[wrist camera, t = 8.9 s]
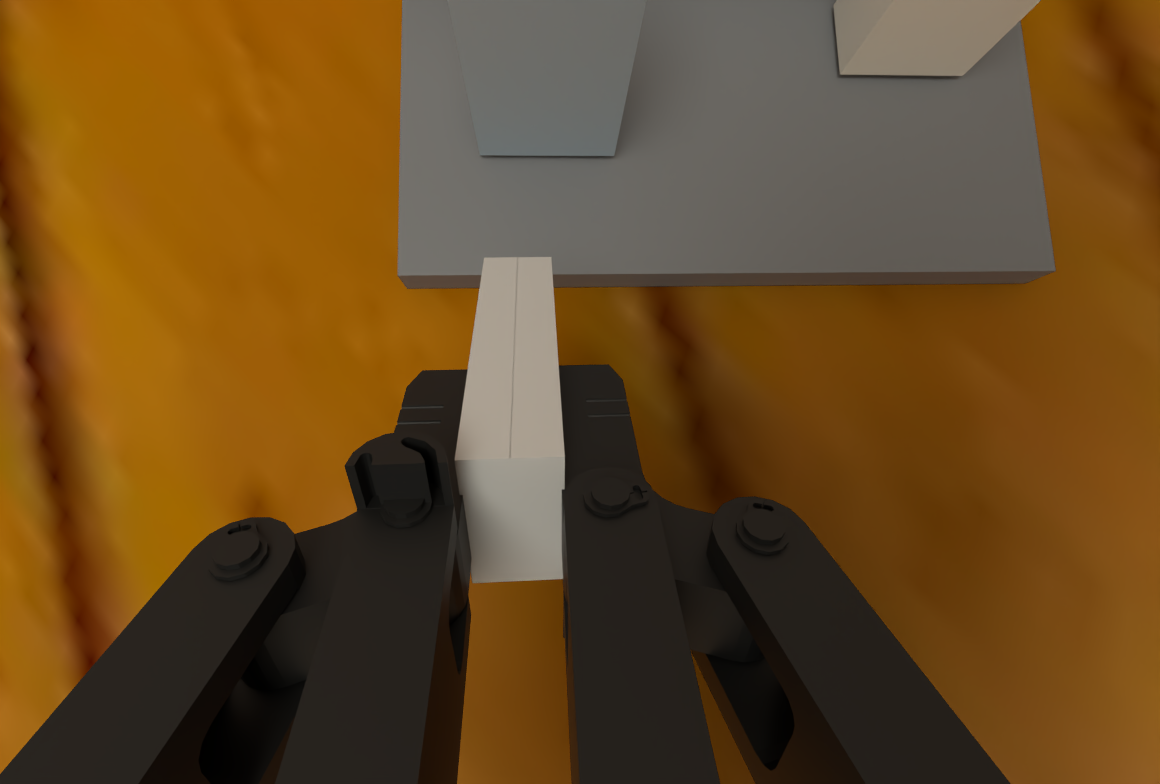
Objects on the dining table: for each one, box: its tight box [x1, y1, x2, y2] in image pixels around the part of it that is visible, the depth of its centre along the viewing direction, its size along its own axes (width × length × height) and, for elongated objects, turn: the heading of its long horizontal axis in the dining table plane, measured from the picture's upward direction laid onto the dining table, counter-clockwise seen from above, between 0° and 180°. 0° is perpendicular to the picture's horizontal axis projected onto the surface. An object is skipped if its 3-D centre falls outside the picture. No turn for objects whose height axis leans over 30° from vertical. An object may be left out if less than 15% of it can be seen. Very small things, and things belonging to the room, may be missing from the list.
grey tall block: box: [448, 0, 647, 156], centre depth 17 cm, size 5×3×11 cm, turn 91°
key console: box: [398, 0, 1056, 288], centre depth 23 cm, size 25×16×5 cm, turn 91°
